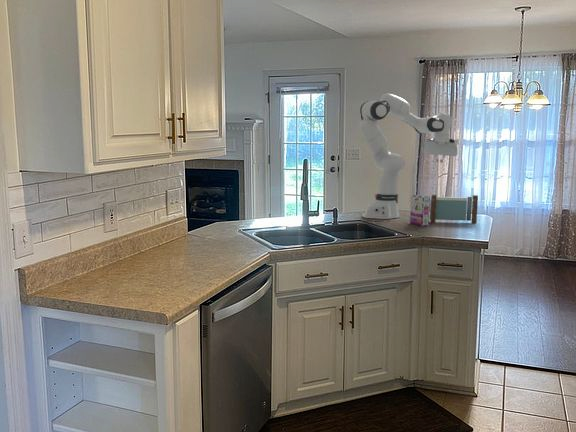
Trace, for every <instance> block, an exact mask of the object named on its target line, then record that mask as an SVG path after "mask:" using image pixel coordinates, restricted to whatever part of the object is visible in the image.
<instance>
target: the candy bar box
mask: <svg viewBox="0 0 576 432" xmlns="http://www.w3.org/2000/svg"><path fill="white" fill-rule="evenodd" d="M430 203H431V196H427V195H420V194H411V195H410V215H409V216H410V217H409V218H410V219H409V221H410V222H409V223H410V224H411V225H417V226H420V227H426V226H429V224H430Z"/></svg>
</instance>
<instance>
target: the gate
mask: <svg viewBox="0 0 576 432" xmlns="http://www.w3.org/2000/svg"><path fill="white" fill-rule="evenodd" d="M472 202H473V196H467V197H465V196H461V197H460V196H436V218H435V221H436V220H437V221H439V220H440V221H441V220H442V221H469V222H470V221H472ZM431 203H432V196H430V205H429V221H431Z"/></svg>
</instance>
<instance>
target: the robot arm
mask: <svg viewBox="0 0 576 432" xmlns="http://www.w3.org/2000/svg"><path fill="white" fill-rule="evenodd" d="M359 111H360V112H359V113H360V118H361V120H362V121H360V123H359V126H358V128H359V130H360V134H361V135H362V137H363V139H364V141H365V143H366V144H367V147H368V148H369V149H370V151H371V154H372V156H373V164H374V167H376V168H377V169H378V170H381V171H383V173H382V176H381V178H380V180H379V181H378V182H379V185H378V193H375V194H374V198H375V200H373V201H372V202H371V203H370V204H368V205H367V207H366V209H365V212H364V213H362V218H365V219H381V220H382V219H383V220H389V219H398V218H400V214H399V208H398V203H399V194H398V186H399V185H398V184H399V179H400V176H401V175H400V174H401V172H402V170H403V169H404V168H405V165H406V160H405V157H403V156H402V155H400V154H398V153H392V152H391V151H390V150H389V147H388V143H389V142H388V139H387V138H386V136H385V135H384V133H383V131H382V130H381V128H380V127H379V123H378V121H380V120H383V119H384V118H386V117H387V115H388V114H390V115H392V116H394V117H395V118H397V119H400V120H401V121H403V122H404V123H406V124H407V125H409V126H411V127H412V128H413V129H414V131H415V132H416V133H417V134H418V135H419V134H420V135H425V134H432V133H434V138H426V139H425V140H423V145H424V148H423V151H422V152H423V154H427V155H434V159H435V163H438V162H440V163H444V159H445V158H446V156H449V157H456V156H457V155H458V145H457V140H456V139H455V138H451V137H450V131H451V126H452V117H451V115H450V114H448V113H446V112H439V113H438V114H436V115H433V116H428V117H418V116H416V115H415V114H413V113H411V105H410V103H409V102H408V101H406V100H405V99H404V98H402V97H400V96H397V95H395V94H392V93H384V94H383V95H381V97H380V99H379V100H368V101H365V102H364V103H363V102H362V104H361V106H360V109H359ZM437 156H442V159H440V161H439V159H438V158H437Z"/></svg>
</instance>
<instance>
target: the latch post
mask: <svg viewBox="0 0 576 432" xmlns="http://www.w3.org/2000/svg"><path fill="white" fill-rule="evenodd" d="M431 197H432V203H431V202H430V203H431V220H430V223H431V224H436V220H435V218H436V197H437V194H431Z"/></svg>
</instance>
